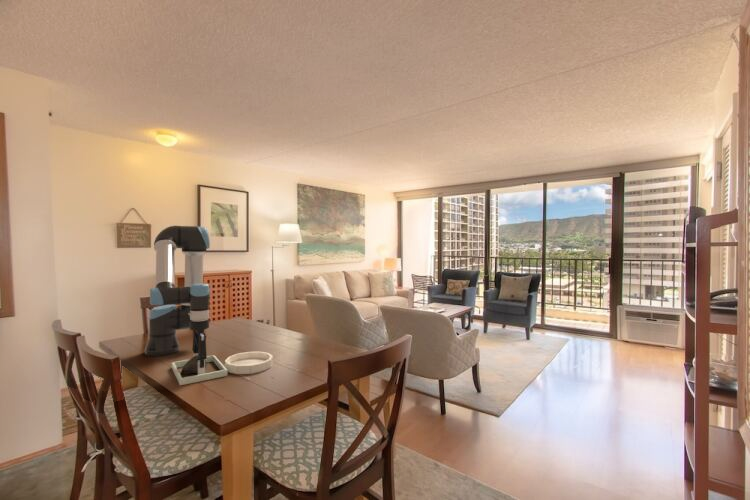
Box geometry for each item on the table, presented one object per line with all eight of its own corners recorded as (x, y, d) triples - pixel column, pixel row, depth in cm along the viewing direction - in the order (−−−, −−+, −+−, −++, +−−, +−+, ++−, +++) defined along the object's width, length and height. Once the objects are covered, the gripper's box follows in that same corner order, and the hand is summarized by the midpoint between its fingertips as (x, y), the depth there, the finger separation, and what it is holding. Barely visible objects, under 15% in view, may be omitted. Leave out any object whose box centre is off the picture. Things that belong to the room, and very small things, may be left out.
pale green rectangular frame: (171, 367, 153) (171, 362, 152) (214, 360, 163) (214, 355, 163) (179, 385, 134) (180, 378, 134) (227, 375, 144) (227, 369, 144)
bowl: (220, 363, 159) (220, 356, 158) (263, 356, 171) (263, 349, 171) (232, 377, 143) (232, 369, 143) (278, 367, 155) (278, 360, 155)
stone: (186, 386, 142) (204, 369, 143) (173, 370, 143) (192, 354, 144) (198, 380, 152) (216, 365, 153) (187, 366, 153) (204, 350, 154)
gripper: (185, 316, 155) (184, 365, 155) (194, 325, 137) (194, 381, 137) (203, 314, 159) (203, 362, 159) (214, 323, 142) (214, 377, 142)
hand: (198, 371), depth 148 cm, fingers open, 9 cm apart
